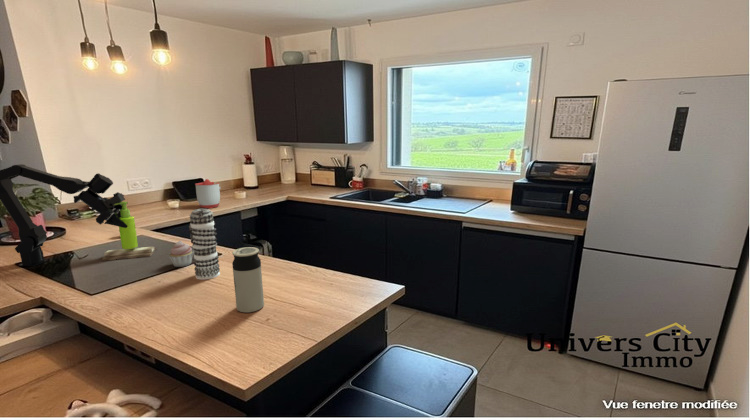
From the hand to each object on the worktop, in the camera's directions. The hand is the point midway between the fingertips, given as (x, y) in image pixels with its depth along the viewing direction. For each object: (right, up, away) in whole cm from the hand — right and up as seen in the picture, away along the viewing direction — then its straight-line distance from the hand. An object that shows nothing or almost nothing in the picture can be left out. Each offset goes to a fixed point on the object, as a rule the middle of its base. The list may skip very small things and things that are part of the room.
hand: (129, 225), depth 163 cm
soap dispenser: (-1, -10, +2) cm, 10 cm away
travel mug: (+68, -23, -48) cm, 86 cm away
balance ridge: (-1, -13, +2) cm, 13 cm away
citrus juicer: (-11, +9, +106) cm, 107 cm away
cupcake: (+28, -16, -10) cm, 34 cm away
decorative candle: (+44, -18, -22) cm, 52 cm away
